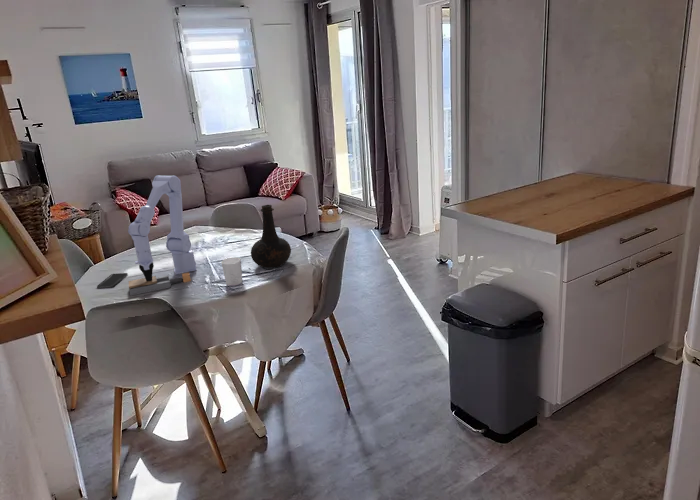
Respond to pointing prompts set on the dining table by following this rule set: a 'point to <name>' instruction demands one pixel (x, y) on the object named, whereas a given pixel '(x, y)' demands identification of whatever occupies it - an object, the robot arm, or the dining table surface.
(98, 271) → the dining table surface
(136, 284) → the lid
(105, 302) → the dining table surface
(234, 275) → the white cup
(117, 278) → the phone
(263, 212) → the glass bottle
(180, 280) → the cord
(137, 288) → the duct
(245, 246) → the dining table surface
